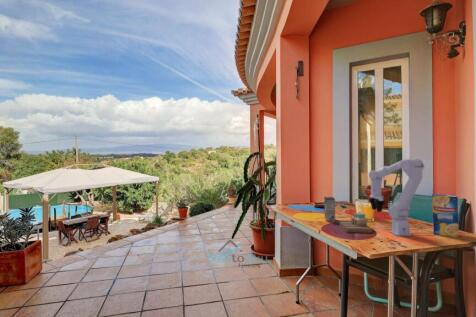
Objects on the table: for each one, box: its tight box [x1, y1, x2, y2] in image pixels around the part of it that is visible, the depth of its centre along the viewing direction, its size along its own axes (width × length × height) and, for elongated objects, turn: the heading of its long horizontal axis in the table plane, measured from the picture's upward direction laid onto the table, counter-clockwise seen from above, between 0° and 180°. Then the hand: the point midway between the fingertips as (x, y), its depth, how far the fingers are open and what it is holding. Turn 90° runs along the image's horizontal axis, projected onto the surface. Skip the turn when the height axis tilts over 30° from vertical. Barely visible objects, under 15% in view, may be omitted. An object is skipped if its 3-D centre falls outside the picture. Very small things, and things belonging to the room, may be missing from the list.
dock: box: [338, 219, 373, 234], centre depth 160 cm, size 20×14×2 cm
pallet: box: [350, 216, 368, 226], centre depth 160 cm, size 5×8×4 cm, turn 112°
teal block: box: [353, 212, 366, 219], centre depth 160 cm, size 4×5×2 cm
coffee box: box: [323, 196, 336, 222], centre depth 183 cm, size 9×6×16 cm
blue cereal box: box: [431, 193, 460, 238], centre depth 143 cm, size 7×11×22 cm, turn 54°
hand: (376, 210), depth 162 cm, fingers open, 7 cm apart
